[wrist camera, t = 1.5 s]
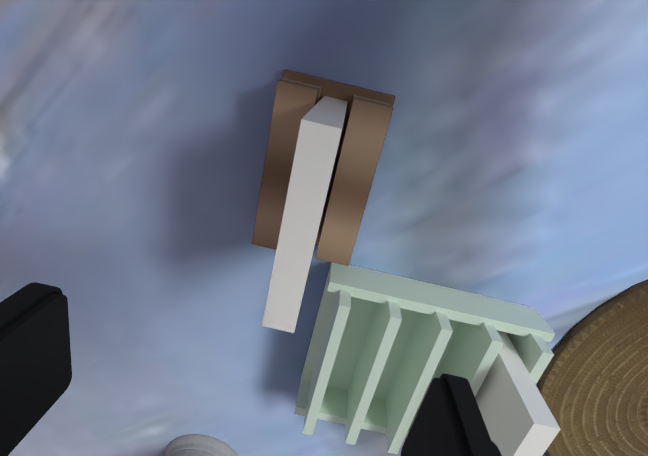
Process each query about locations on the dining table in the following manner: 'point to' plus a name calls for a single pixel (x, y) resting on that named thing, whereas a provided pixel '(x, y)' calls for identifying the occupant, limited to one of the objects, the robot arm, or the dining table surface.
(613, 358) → the decorative disc
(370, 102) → the stand
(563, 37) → the dining table surface
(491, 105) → the dining table surface
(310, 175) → the tall white panel
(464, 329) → the rack
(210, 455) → the grey black mug
